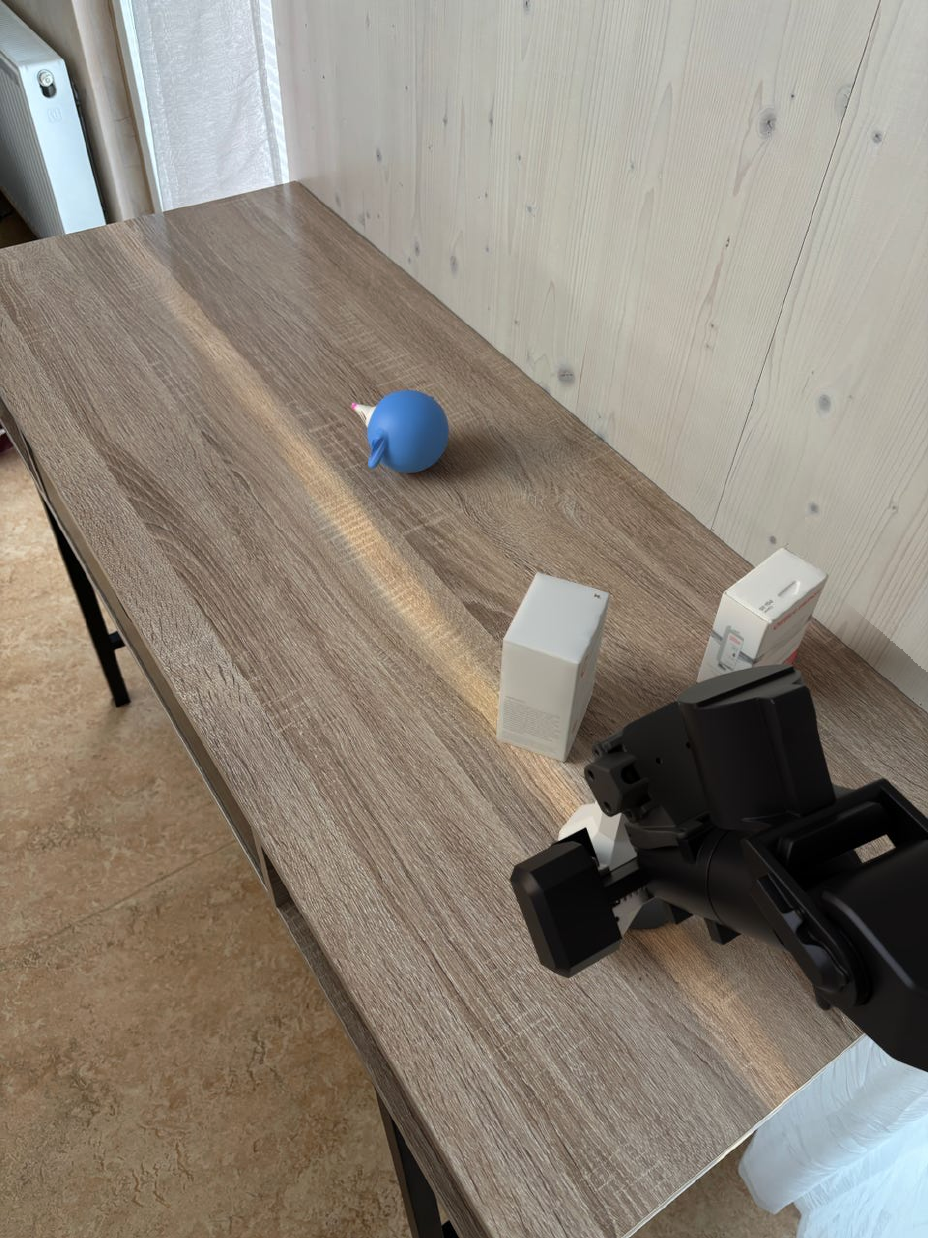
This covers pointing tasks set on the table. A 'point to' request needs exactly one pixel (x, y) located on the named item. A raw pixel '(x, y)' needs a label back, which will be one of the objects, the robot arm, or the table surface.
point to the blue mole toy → (405, 431)
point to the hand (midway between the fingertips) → (599, 826)
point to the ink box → (763, 615)
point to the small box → (550, 665)
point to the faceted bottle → (603, 838)
